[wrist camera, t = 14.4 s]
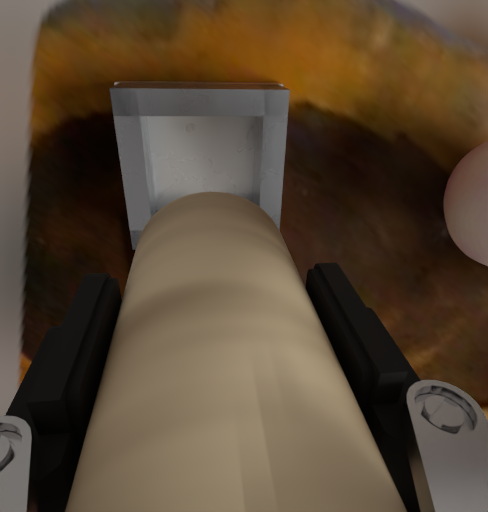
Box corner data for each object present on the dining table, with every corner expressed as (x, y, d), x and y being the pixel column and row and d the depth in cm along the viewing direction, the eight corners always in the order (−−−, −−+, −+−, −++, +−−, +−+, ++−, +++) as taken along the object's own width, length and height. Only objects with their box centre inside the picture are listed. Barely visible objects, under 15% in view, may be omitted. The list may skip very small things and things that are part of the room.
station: (260, 397, 37) (267, 434, 33) (160, 405, 36) (157, 444, 32) (279, 82, 23) (295, 89, 19) (117, 80, 22) (103, 88, 18)
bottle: (280, 315, 14) (481, 946, 4) (145, 324, 14) (20, 1072, 4) (289, 189, 12) (818, 1001, 2) (125, 193, 11) (-392, 1385, 1)
